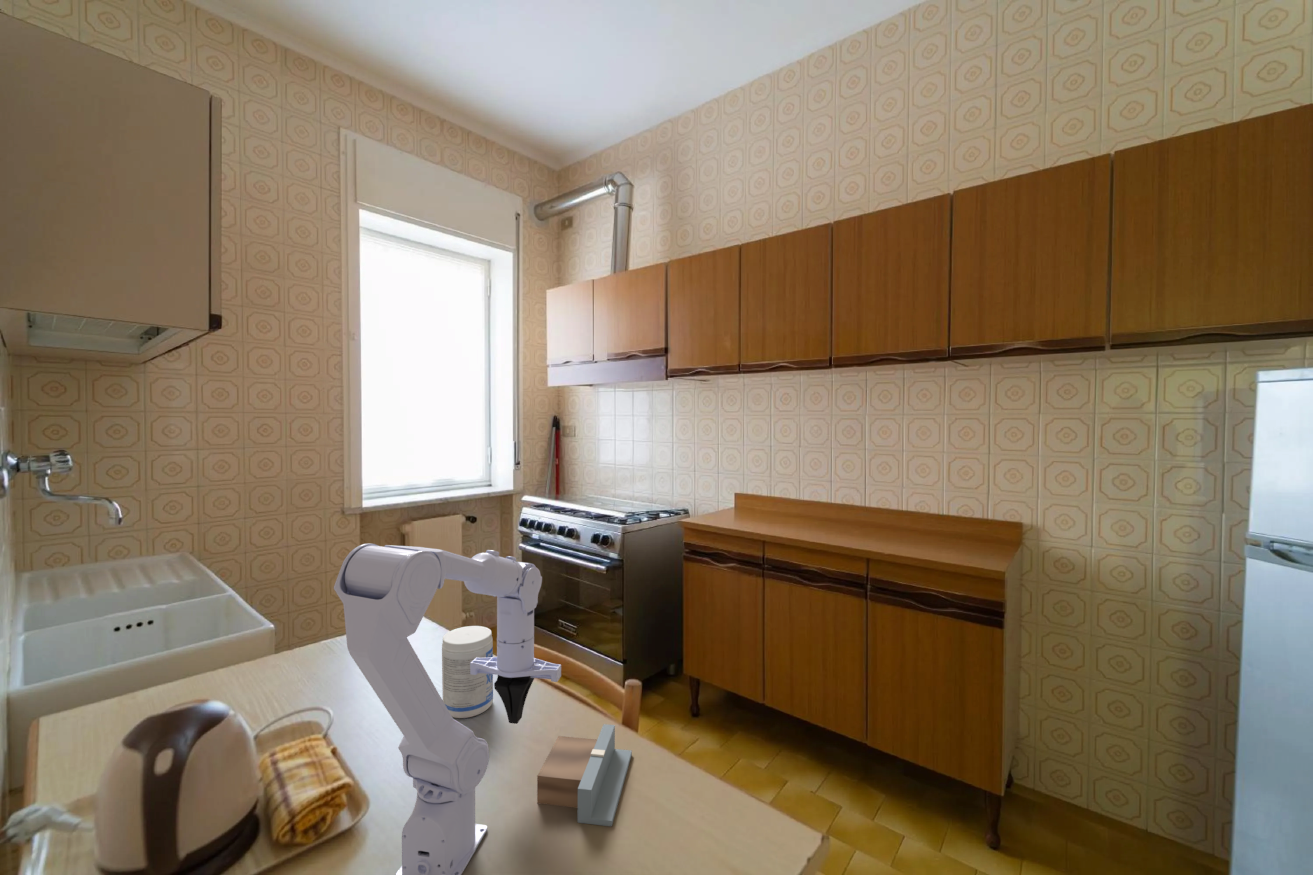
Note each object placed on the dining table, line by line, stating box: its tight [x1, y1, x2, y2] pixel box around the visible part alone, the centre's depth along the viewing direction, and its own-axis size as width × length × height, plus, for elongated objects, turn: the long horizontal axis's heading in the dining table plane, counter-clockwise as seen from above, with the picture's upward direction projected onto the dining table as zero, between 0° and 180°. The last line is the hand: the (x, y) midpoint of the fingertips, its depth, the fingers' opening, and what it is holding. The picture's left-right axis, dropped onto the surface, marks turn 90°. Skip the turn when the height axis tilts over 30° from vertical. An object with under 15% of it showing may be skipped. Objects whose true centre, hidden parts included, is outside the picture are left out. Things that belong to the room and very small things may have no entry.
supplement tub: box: [441, 625, 494, 719], centre depth 105 cm, size 10×10×15 cm
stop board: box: [577, 723, 633, 827], centre depth 83 cm, size 16×5×5 cm, turn 172°
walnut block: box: [536, 735, 598, 809], centre depth 84 cm, size 10×7×4 cm
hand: (515, 719), depth 85 cm, fingers closed
